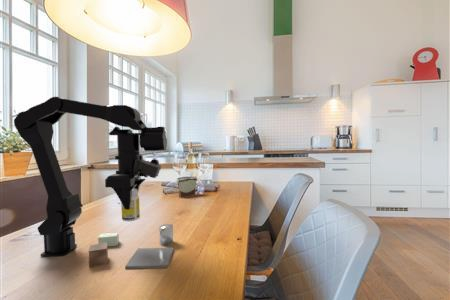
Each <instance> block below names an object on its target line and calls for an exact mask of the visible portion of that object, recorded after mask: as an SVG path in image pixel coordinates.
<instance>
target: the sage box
mask: <svg viewBox="0 0 450 300" xmlns="http://www.w3.org/2000/svg"><path fill="white" fill-rule="evenodd" d="M119 238H120V237H119V232H108V233H100V235H99V236H98V238H97V241H98V243H97V244H101V243H107V246H108V247H115V246H117V247H118V244H119V241H120V239H119Z"/></svg>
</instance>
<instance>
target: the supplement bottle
mask: <svg viewBox="0 0 450 300" xmlns="http://www.w3.org/2000/svg"><path fill="white" fill-rule="evenodd" d="M120 203H121V202H120ZM140 218H141V213H140V197H139V195H137V189H135V188H134V189H133V190H132V195H131V203H130V209H125V208H124V206H123V204H122V203H121V221H123V222H135V221H137V220H139V219H140Z"/></svg>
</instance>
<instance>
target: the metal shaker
mask: <svg viewBox="0 0 450 300" xmlns="http://www.w3.org/2000/svg"><path fill="white" fill-rule="evenodd" d="M158 233H159V235H158V236H159V245H160V246H164V247H165V246H171V245H173V244H174V225H173V224H169V223H165V224H161V225H159V227H158Z"/></svg>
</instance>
